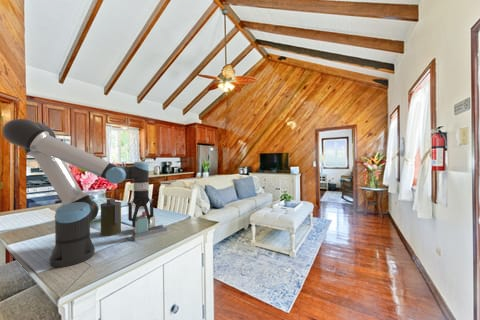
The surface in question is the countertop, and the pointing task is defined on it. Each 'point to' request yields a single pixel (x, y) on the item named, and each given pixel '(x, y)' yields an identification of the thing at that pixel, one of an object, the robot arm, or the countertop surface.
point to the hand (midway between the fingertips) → (141, 231)
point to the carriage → (141, 224)
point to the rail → (150, 232)
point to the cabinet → (152, 220)
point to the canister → (110, 218)
